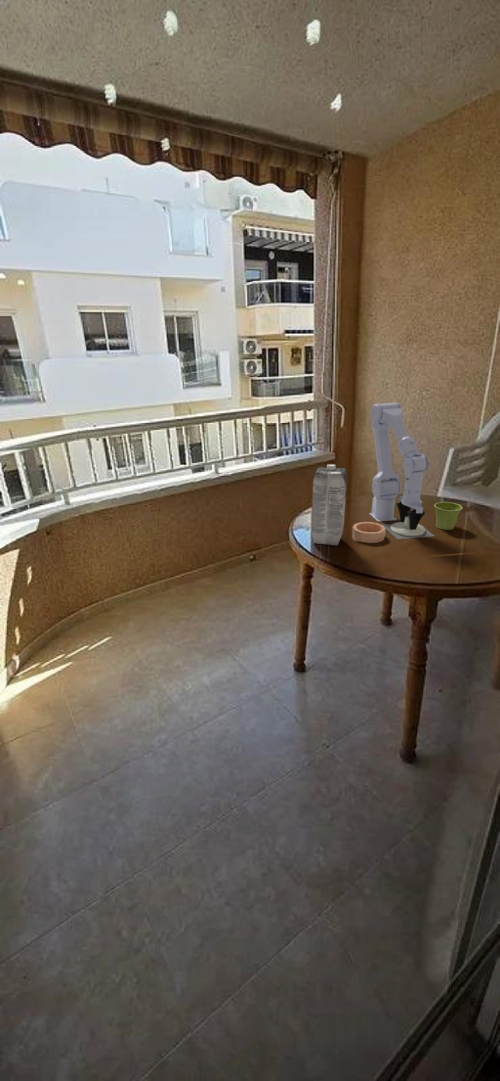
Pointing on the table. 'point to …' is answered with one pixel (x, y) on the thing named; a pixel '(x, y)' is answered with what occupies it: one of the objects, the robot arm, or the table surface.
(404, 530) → the lid
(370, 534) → the bowl
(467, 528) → the table surface
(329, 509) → the juice carton
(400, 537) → the mat
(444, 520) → the plant pot
